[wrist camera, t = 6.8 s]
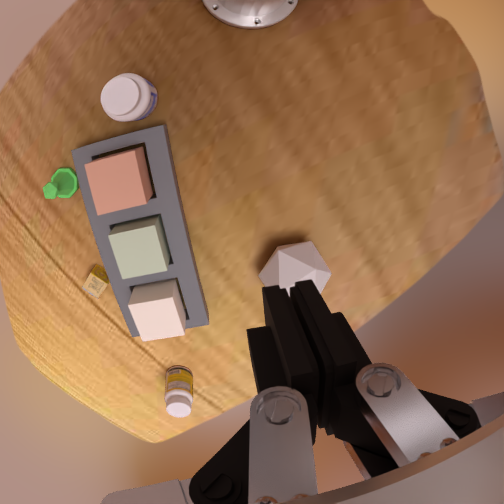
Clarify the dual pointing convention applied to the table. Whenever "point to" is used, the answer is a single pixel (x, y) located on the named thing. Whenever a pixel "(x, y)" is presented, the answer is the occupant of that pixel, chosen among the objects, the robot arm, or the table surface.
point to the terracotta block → (119, 181)
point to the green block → (140, 246)
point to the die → (295, 267)
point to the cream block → (158, 310)
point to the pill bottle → (129, 97)
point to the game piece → (62, 184)
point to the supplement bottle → (179, 391)
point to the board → (160, 202)
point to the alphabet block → (96, 281)
